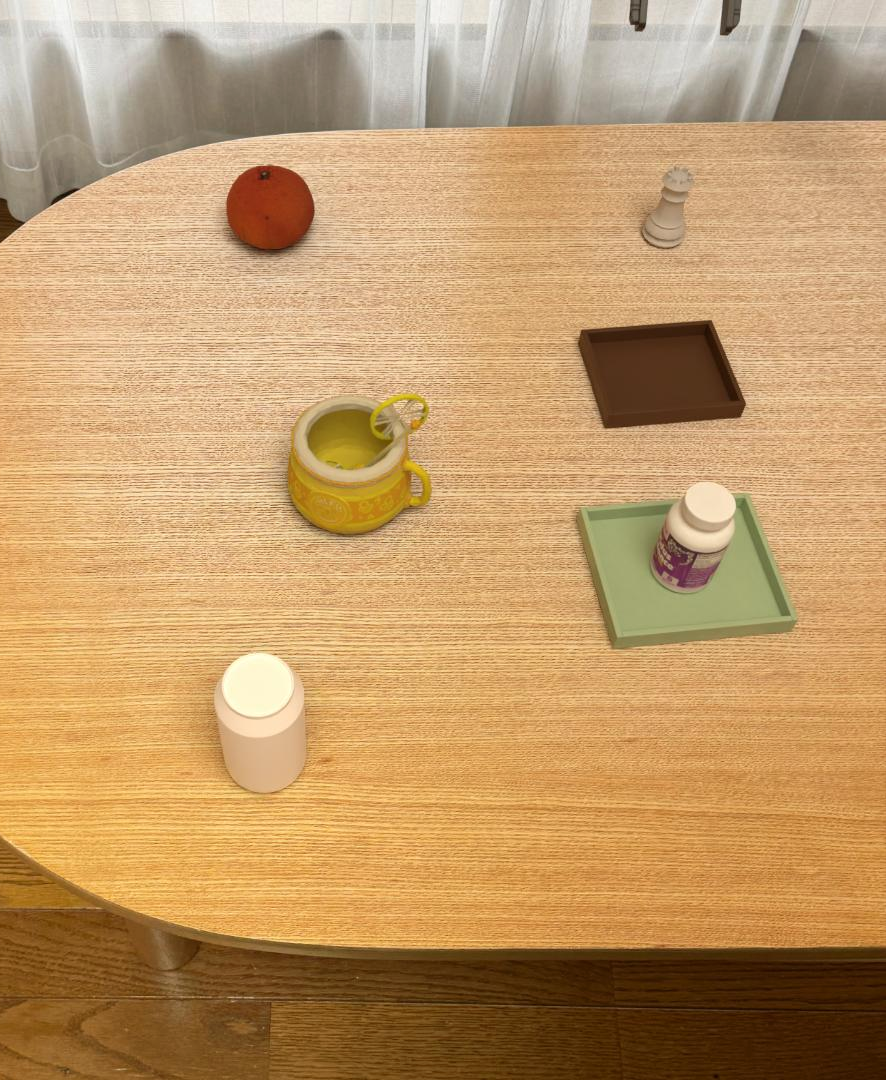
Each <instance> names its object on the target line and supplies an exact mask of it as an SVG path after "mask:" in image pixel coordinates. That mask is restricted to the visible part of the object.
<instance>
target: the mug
mask: <svg viewBox="0 0 886 1080" xmlns="http://www.w3.org/2000/svg"><path fill="white" fill-rule="evenodd" d="M407 400H408V401H407ZM400 401H407V402H406V403H405V404H404V406H403V408H402V409H401V411H400V412H399V413H398V412H397V410H396V408H395V406H394V403H397V402H400ZM418 402H419V403H421V404H422V405H423V408H421V409H417V410H413V411H410V409H412V408H413V406H414V405H415V404H416V403H418ZM404 410H405V411H404ZM403 411H404V412H403ZM409 411H410V412H409ZM402 412H403V413H402ZM429 412H430V411H429V405H428V403H427V401H426V398H424V397H422V396H421V395H419V394H417V393H412V392H411V393H400V394H396V395H393V396H391V397H389V398H388V399H385V400H384V401H382V402H381V401H379V400H377V399H374V398H372V397H369V396H362V395H354V394H343V395H341V394H340V395H333V396H331V397H327V398H325V399H322V400H320V401H317V402H316V403H314V404H312V405H310V406H309V407H307V408H306V409H305V410H304V411H302V412H301V415H299V416H298V418H297V420H296V421H295V424H293V427H292V430H291V435H290V450H289V455H288V462H287V470H286V479H287V481H286V483H287V489H288V493H289V498H290V499H291V502H292V503H293V505H294V507H295V509H296V510H297V511H298V512H299V513H300V515H302V516H303V517H304V519H306V520H307V521H308V522H310V523H311V524H313V525H314V526H316V527H317V528H320V529H323V530H325V531H327V532H329V533H335V534H343V535H354V534H364V533H368V532H371V531H374V530H378V529H379V528H380V527H382V526H384V525H385V524H387V523H389V522H390V521H392V520H394V519H395V517H397V515H399V514H400V513H401V512H402V510H403V509H409V508H410V506H412V507H420V506H425V505H427V504H428V503H429V502H430V500H431V496H432V493H433V487H432V483H431V482H432V481H431V478H430V477H431V476H430V475H429V473H428V472H427V470H426V469H424V468H423V467H422V466H420V465H419V464H418V463H417V462H415V461H412V460H411V459H410V452H409V440H410V439H409V436H410V435H412V434H413V433H415V432H416V431H417V430H419V429H420V428H421V427H422V426H423V425H424V424H425V422H426V421H427V419H428V417H429V414H430V413H429ZM413 414H414V415H413ZM405 415H411V416H406V417H404V416H405ZM419 417H420V418H419ZM411 418H419V419H413V420H411V422H410V424H408V423H407V422H406V421H405V419H411ZM412 473H413V474H414V475H415V476H416V478H418V479H419V480H420V482H421V485H422V492H421V495H420V496H413V492H412V491H411V490H412Z"/></svg>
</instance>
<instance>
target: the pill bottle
mask: <svg viewBox="0 0 886 1080" xmlns="http://www.w3.org/2000/svg"><path fill="white" fill-rule="evenodd" d="M730 491H731V490H729V489H727V488H726V487H725V486H723V485H721V484H719V483H718V482H717V483H716V482H712V481H700V482H696V483H693V484H692V485H691V486H690V487H688V489H687V490H686V491H685V494H684V495H683V497H681V498H678V499H679V500H677V501H676V502H675V503H674V504H673V505H672V507H671V508H670V510H669V512H668V514H667V517H666V520H665V522H664V525H663V527H662V530H661V532H660V534H659V537H658V540H657V543H656V545H655V548H654V550H653V553H652V556H651V561H650V564H651V570H652V573H653V575H654V577H655V578H656V580H657V581H658V582H659V583H660V584H661V585H663V586H664V587H666V588H667V589H669V590H671V591H674V592H678V593H695V592H698V591H700V590H702V589H704V588H705V587H706V586H707V585H708V584H709V583H710V581H711V580H712V578H713V576H714V574H715V572H716V570H717V568H718V566H719V564H720V562H721V560H722V558H723V556H724V554H725V552H726V550H727V548H728V546H729V544H730V542H731V540H732V538H733V535H734V531H735V523H734V519H733V515H734V513H735V510H736V502H735V499H734V497H733V495H732V494H733V493H732V492H730Z"/></svg>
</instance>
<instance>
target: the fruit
mask: <svg viewBox="0 0 886 1080" xmlns="http://www.w3.org/2000/svg"><path fill="white" fill-rule="evenodd" d="M225 205H226V206H225V207H226V208H225V210H226V211H225V213H226V220H227V224H228V227H229V228H230V229H231V231H232V232H233V233H234V234H235V236H237V237H238V238H239V239H240V240H241V241H242V242H244V243H246V244H249V245H250V246H253V247H256V248H258V249H263V250H273V249H274V250H275V249H276V250H277V249H284V248H286V247H290V246H291V245H294V244H295V243H296V242H298V241H299V240H301V239H302V238H303V237H304V236H305V235H306V234H307V233H308V231H309V230H310V228H311V225H312V223H313V221H314V218H315V212H316V210H315V202H314V198H313V195H312V193H311V190H310V187H309V185H308V183H307V182H306V181H305V179H304V178H303V177H302V176H301V175H300V174H298V172H295V171H294V170H292V169H290V168H286V167H283V166H280V165H273V164H266V165H256V166H254V167H251V168H248V169H246V170H245V171H244V172H242V173H241V174H240V175H238V177H237V178H236V179H235V180H234V181H233V183H232V185H231V187H230V188H229V191H228V193H227V196H226V203H225Z"/></svg>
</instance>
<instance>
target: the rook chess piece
mask: <svg viewBox="0 0 886 1080" xmlns="http://www.w3.org/2000/svg"><path fill="white" fill-rule="evenodd" d="M680 167H681V165H674V167H670V168H669V169H667V172H666V173H664V175H662V177H661V182H662V184H663V187H662V188H661V190H660V194H661V197H660V200H659V202H658V204H657V206H656V208H655V209H654V210H653V211H652V212H651V213H650V214H649V215H648V216H647V217H646V218H645V220H644V221H645V222H644V225H643V226H642V231H641V232H642V234H643V238H644V239H645V240H646V241H647V242H648V243H649V244H650V245H651V246H653V247H655V248H660V249H672V248H674V247H677V246H678V245H680V244H681V243H682V242H683V241H684V240H685V235H686V230H687V223H686V221H685V220H686V219H685V216H684V208H685V202H686V201H687V200H688V198H689V195H690V193H689V191H691V190H692V189H693V188H694V187H695V184H696V182H695V180H694V173H693V170H690V171H689V169H690V168H689V167H687V166H685V165H684V166H683V167H682V169H680Z"/></svg>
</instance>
